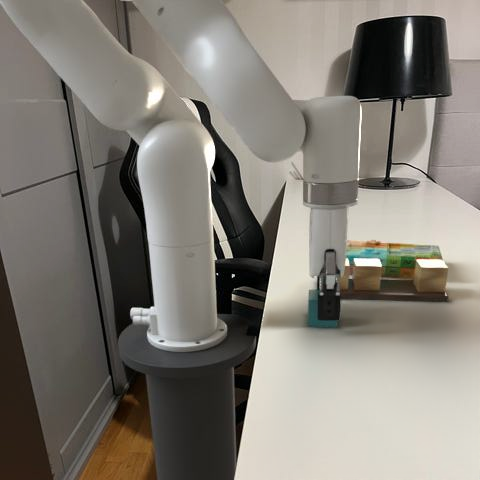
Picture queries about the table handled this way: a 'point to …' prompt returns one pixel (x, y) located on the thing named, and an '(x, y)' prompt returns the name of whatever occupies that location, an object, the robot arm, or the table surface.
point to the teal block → (316, 312)
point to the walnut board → (393, 292)
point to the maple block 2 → (366, 274)
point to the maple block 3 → (430, 275)
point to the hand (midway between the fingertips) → (327, 306)
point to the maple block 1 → (345, 277)
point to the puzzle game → (392, 256)
